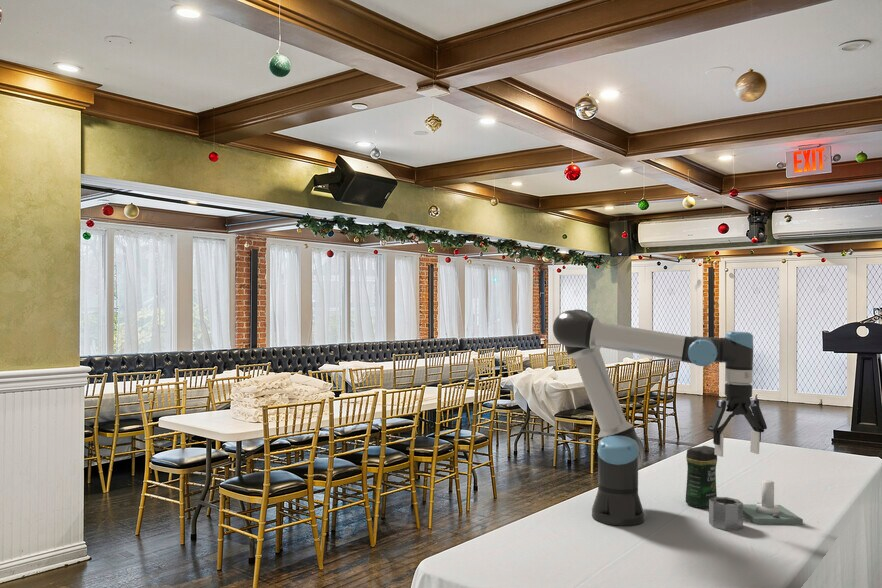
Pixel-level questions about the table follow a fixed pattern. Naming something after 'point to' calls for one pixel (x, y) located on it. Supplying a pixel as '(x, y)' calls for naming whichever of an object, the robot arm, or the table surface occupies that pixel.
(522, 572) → the table surface
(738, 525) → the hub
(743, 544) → the table surface
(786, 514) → the stand
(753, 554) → the table surface
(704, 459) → the coffee jar
